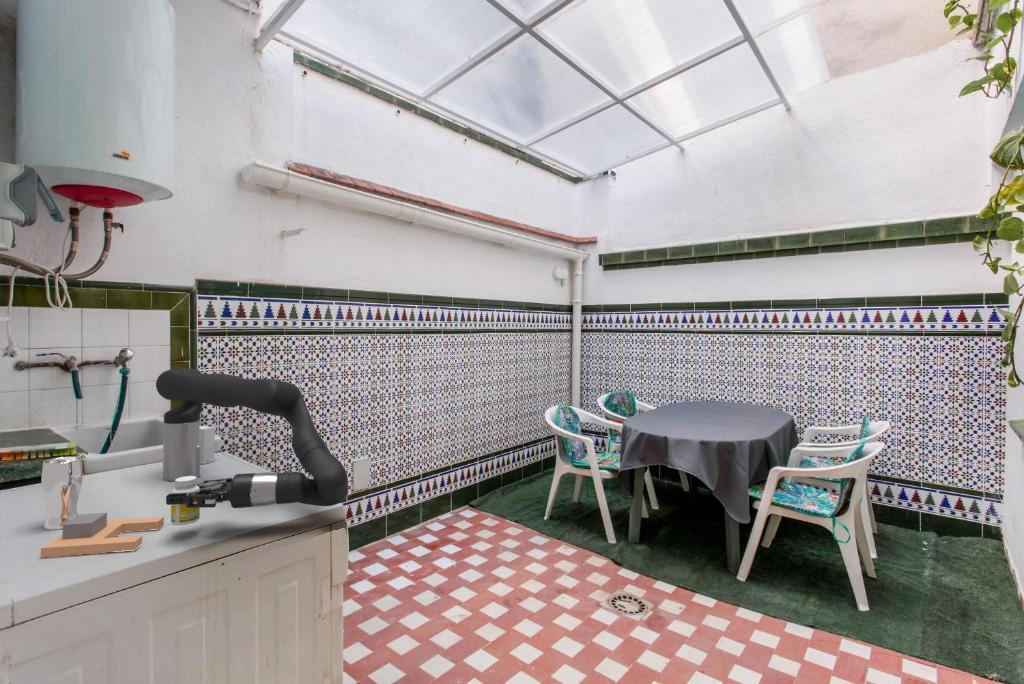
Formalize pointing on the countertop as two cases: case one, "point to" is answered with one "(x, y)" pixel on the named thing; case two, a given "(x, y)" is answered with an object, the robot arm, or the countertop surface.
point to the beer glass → (61, 490)
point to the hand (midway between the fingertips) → (172, 495)
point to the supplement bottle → (179, 511)
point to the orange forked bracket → (98, 535)
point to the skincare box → (207, 444)
